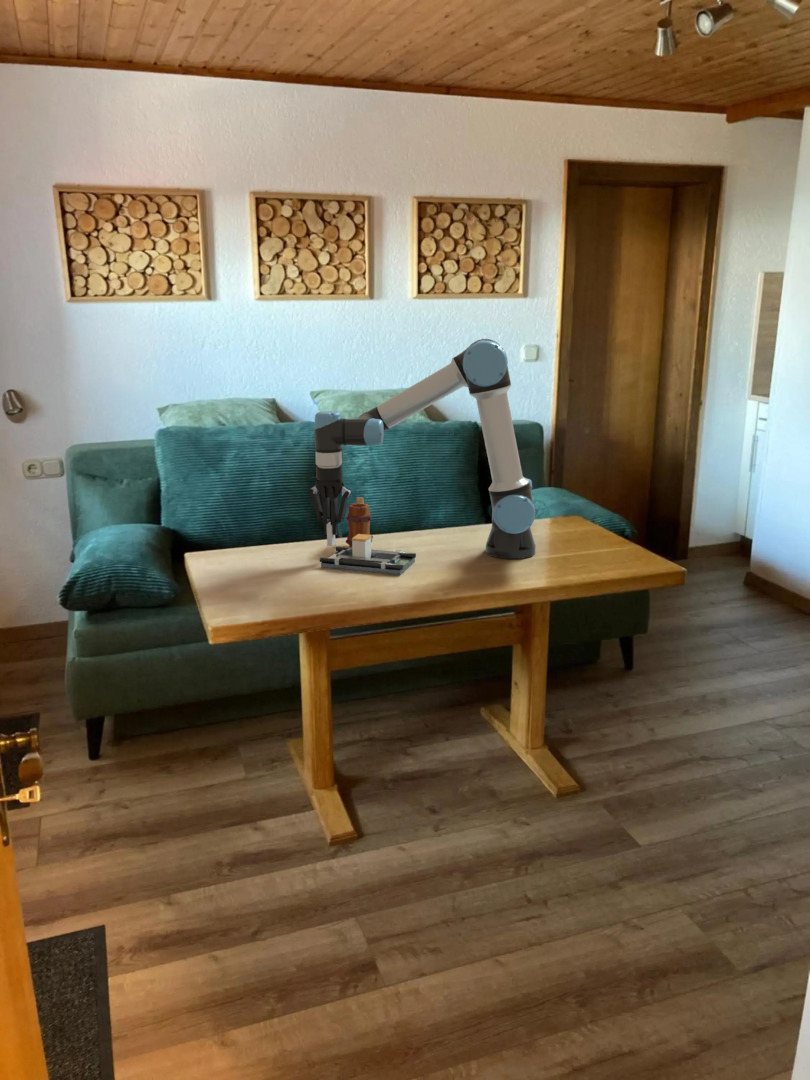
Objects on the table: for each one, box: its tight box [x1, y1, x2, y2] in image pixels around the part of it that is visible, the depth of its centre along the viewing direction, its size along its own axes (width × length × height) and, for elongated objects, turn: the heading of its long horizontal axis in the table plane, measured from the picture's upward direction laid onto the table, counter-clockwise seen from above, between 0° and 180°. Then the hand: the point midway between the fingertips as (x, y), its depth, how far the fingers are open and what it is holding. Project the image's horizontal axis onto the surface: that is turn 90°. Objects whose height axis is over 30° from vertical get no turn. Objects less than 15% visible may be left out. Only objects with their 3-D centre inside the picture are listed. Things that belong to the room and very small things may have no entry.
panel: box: [319, 546, 417, 577], centre depth 249 cm, size 25×14×3 cm, turn 72°
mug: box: [345, 496, 374, 548], centre depth 266 cm, size 15×8×15 cm, turn 179°
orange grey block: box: [352, 534, 372, 558], centre depth 249 cm, size 4×5×7 cm
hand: (331, 544), depth 252 cm, fingers closed
